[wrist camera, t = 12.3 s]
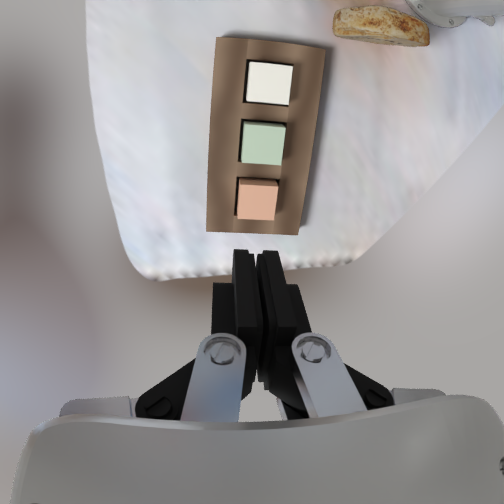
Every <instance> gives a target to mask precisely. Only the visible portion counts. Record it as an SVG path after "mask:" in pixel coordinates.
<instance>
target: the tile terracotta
mask: <svg viewBox="0 0 504 504" xmlns="http://www.w3.org/2000/svg"><path fill="white" fill-rule="evenodd" d="M277 193H278V185H277V182H276V180H275V179H260V178H243V177H239V190H238V203H237V217H238V219H253V220H274V216H275V209H276V201H277Z"/></svg>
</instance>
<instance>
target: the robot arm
mask: <svg viewBox="0 0 504 504" xmlns="http://www.w3.org/2000/svg"><path fill="white" fill-rule="evenodd" d="M406 2H407V3H408V4H409V5H410V7H411V8H412V9H413V10H414V11H415V12H416V13H417V14H418V15H419V16H420V17H422V18H423V19H424V20H426V21H428V22H429V23H431V24H433V25H436V26H439V27H444V28H452V27H457V26H459V25H461V24H462V23H463V22H464V21H465V20H466V18H467V16H472V17H474V18H479V19H480V20H481V21H483V22H484V23H486V24H487V25H489V26H492V25H494V23H495V19H494V17H493V16H504V0H406ZM211 328H212V329H211V335H210V336H208V337H206V338H205V339H204V340H203V341H202V342H201V343H200V345H199V348H198V352H197V356H196V358H195V359H193V360H192V361H191V362H189V363H188V364H186V365H185V366H183V367H182V368H181V369H179V370H178V371H176V372H175V373H173V374H172V375H170V376H169V377H167V378H166V379H164V380H163V381H161V382H160V383H159V384H157V385H156V386H154V387H153V388H151V389H150V390H148V391H147V392H145V393H144V394H143V395H141V396H140V397H139V398H132V399H130V398H129V396H125V397H124V396H123V397H110V398H94V399H75V400H70V401H69V402H67V403H66V404H65V405H64V406H63V407H62V408H61V411H60V415H59V417H56V418H53V419H50V420H47V421H45V422H43V423H41V424H39V425H38V426H36V427H35V428H34V429H33V430H32V432H31V433H30V435H29V437H28V438H27V440H26V442H25V445H24V447H23V450H22V453H21V455H20V459H19V462H18V465H17V469H16V473H15V478H14V482H13V487H12V493H11V500H10V504H504V425H503V423H502V421H501V419H500V418H499V416H498V414H497V413H496V411H495V410H494V408H493V407H492V406H491V405H490V404H489V403H488V402H487V401H485V400H483V399H481V398H477V397H474V396H467V395H445V393H443V392H442V391H440V390H436V389H405V388H393V389H392V390H391V391H389V390H388V389H387V388H385V387H384V386H383V385H381V384H379V383H377V382H375V381H374V380H372V379H370V378H369V377H367V376H365V375H363V374H362V373H360V372H358V371H356V370H355V369H353V368H351V367H350V366H348V365H346V364H344V363H343V361H342V359H341V357H340V355H339V354H338V352H337V350H336V348H335V346H334V344H333V343H332V342H331V341H330V340H329V339H328V338H326V337H325V336H323V335H321V334H317V333H312V331H311V328H310V324H309V321H308V317H307V314H306V310H305V307H304V303H303V300H302V297H301V294H300V290H299V287H298V285H297V284H286V280H285V277H284V272H283V268H282V265H281V261H280V257H279V253H278V251H269V250H263V253H262V254H258V255H257V262H256V266H255V259H254V254H249V251H248V250H240V249H234V253H233V268H232V283H213V301H212V327H211ZM256 370H257V374H258V381H259V382H264V390H269V392H271V393H272V394H274V395H275V396H276V397H277V398H276V399H277V405H278V408H279V411H280V414H281V417H282V420H283V421H268V422H266V421H265V422H238V420H239V411H240V402H241V400H243V399H244V398H245V397H246V396H247V395H248V394H249V393H250V392H251V389H252V383H253V382H254V381H255V376H256Z"/></svg>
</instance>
